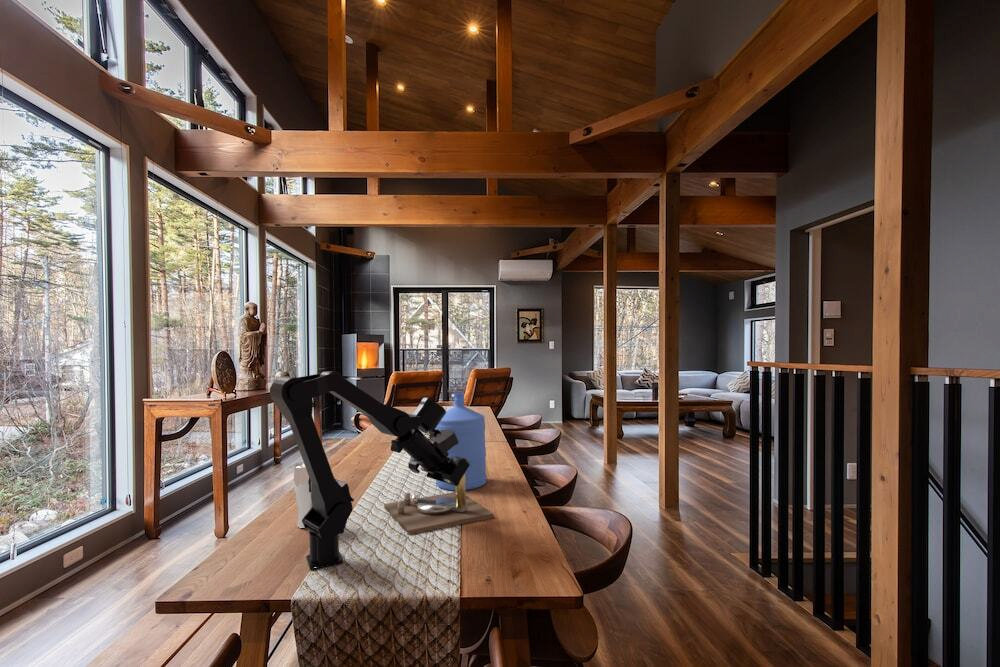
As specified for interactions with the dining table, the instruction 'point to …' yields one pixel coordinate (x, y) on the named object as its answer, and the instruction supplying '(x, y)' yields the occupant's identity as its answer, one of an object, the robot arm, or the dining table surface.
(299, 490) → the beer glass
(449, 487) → the water jug
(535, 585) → the dining table surface
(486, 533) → the dining table surface
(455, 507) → the dial
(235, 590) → the dining table surface
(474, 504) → the walnut board
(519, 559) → the dining table surface
